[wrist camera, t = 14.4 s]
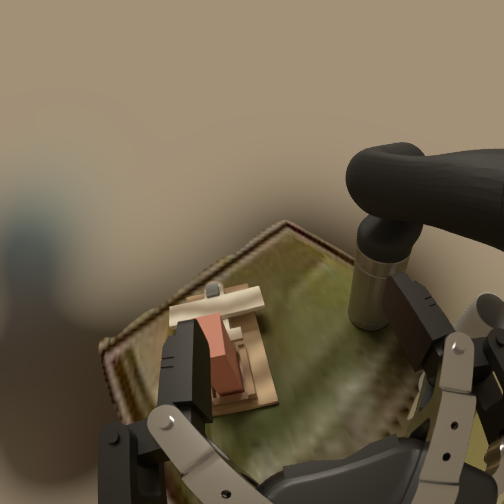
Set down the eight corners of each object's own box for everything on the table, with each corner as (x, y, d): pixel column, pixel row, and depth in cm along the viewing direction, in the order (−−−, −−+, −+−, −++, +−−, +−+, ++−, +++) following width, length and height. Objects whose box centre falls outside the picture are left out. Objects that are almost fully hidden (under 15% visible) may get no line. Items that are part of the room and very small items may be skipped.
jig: (180, 303, 61) (169, 282, 57) (256, 284, 62) (252, 262, 58) (185, 420, 39) (169, 407, 35) (290, 399, 40) (288, 384, 36)
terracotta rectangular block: (217, 364, 46) (192, 318, 38) (238, 359, 47) (219, 312, 38) (222, 398, 41) (194, 360, 32) (245, 394, 41) (225, 354, 32)
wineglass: (417, 366, 39) (463, 285, 26) (452, 366, 37) (506, 288, 24) (416, 404, 34) (475, 336, 21) (453, 403, 31) (520, 335, 18)
